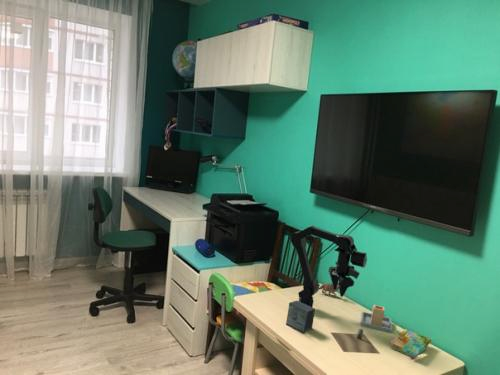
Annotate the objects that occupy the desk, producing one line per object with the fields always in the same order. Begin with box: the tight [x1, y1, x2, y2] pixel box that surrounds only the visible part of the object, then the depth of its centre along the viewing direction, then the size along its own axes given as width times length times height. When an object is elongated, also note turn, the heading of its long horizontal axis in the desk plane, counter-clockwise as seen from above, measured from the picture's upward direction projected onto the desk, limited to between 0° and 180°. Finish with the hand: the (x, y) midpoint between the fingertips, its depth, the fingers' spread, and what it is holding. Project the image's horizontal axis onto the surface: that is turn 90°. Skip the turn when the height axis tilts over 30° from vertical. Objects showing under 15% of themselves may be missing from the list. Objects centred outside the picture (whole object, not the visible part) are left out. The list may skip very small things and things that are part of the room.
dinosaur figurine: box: [319, 282, 339, 298], centre depth 230 cm, size 14×6×9 cm, turn 75°
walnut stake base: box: [330, 328, 381, 355], centre depth 175 cm, size 16×16×5 cm
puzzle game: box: [388, 328, 432, 360], centre depth 179 cm, size 12×5×20 cm
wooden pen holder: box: [371, 304, 385, 327], centre depth 197 cm, size 7×5×8 cm
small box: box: [285, 300, 316, 335], centre depth 184 cm, size 11×6×10 cm, turn 47°
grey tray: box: [360, 311, 393, 334], centre depth 198 cm, size 14×14×2 cm
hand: (338, 292), depth 198 cm, fingers open, 9 cm apart
